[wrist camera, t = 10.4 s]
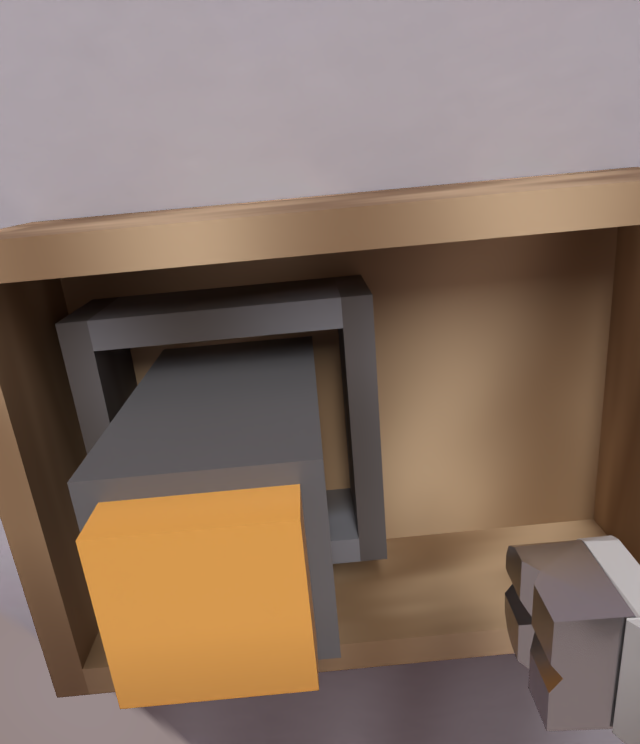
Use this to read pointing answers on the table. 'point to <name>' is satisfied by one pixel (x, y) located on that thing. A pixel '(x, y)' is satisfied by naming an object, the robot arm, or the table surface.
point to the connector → (211, 528)
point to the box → (350, 386)
